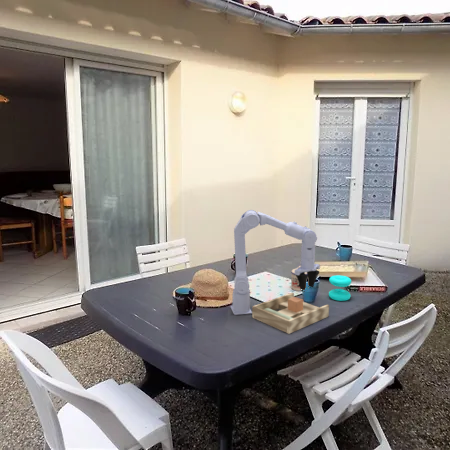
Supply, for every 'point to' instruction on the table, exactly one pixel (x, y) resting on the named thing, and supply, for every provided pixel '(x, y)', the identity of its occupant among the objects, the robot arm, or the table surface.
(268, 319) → the trap box
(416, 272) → the table surface
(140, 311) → the table surface
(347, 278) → the cyan spool
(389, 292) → the table surface
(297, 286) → the teacup with lid
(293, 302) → the block
